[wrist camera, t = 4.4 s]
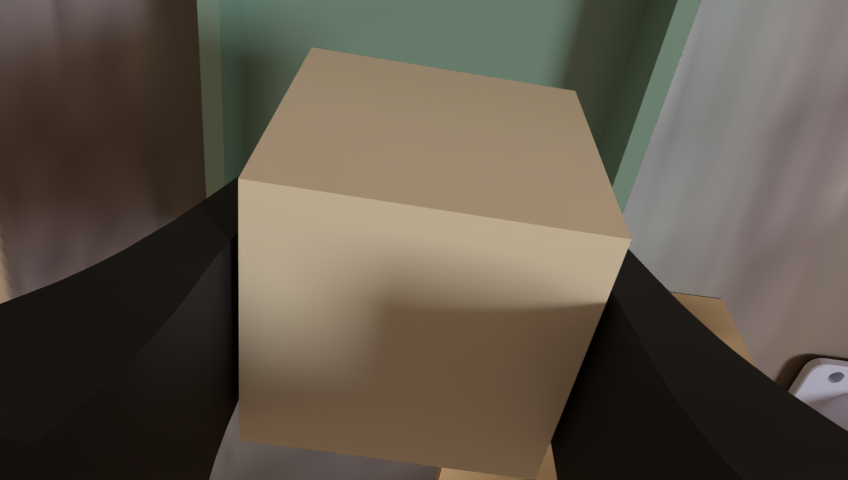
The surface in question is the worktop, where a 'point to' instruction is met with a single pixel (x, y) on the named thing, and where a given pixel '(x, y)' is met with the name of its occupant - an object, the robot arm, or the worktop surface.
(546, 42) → the tray
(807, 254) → the worktop surface
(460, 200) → the sandstone cube
